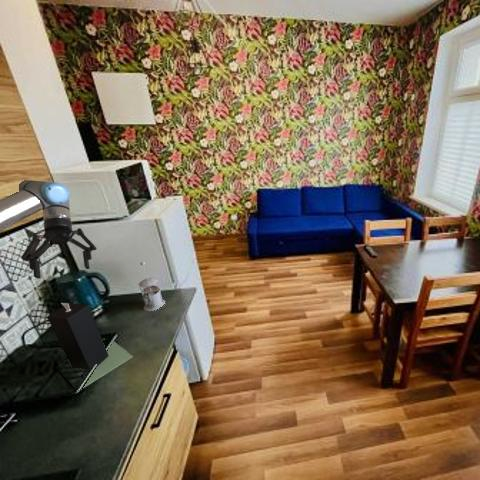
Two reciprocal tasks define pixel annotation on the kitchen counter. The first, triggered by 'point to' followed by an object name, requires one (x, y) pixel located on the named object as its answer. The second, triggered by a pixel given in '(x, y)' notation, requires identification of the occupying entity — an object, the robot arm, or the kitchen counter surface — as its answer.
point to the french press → (151, 293)
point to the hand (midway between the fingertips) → (63, 272)
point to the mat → (110, 362)
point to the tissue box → (78, 335)
